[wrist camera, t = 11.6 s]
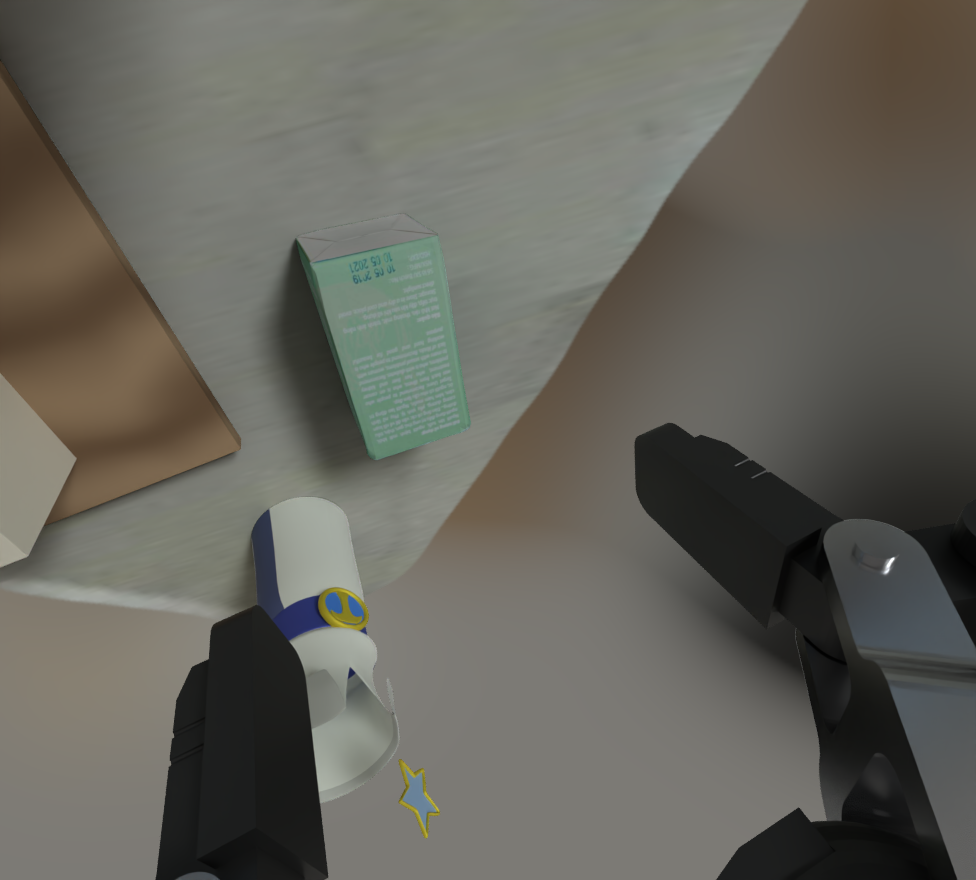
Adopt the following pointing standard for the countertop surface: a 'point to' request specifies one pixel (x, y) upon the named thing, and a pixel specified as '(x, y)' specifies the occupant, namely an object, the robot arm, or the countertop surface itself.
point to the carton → (26, 474)
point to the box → (389, 329)
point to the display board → (90, 332)
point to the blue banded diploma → (331, 646)
